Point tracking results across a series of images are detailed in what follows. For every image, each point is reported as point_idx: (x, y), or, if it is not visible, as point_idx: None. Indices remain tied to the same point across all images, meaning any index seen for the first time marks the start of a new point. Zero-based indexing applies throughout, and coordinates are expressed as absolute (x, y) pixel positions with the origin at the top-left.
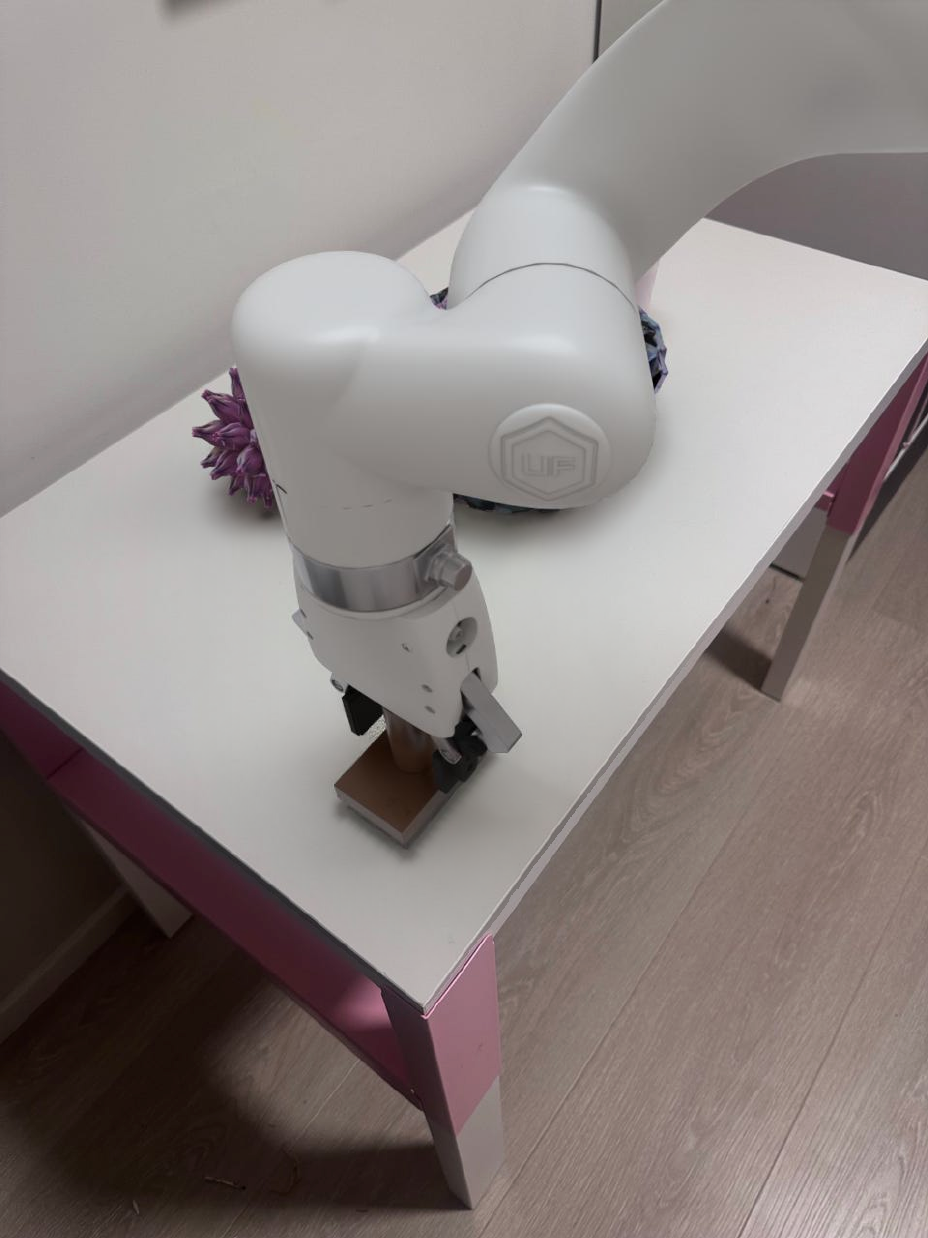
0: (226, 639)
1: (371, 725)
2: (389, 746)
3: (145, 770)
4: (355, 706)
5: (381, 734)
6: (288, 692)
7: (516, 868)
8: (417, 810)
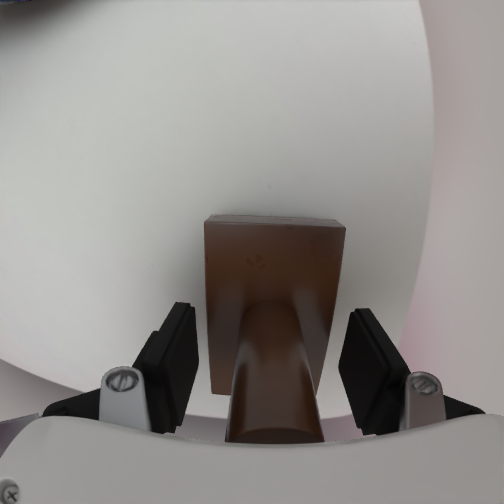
0: (8, 261)
1: (197, 347)
2: (231, 333)
3: (75, 386)
4: (182, 413)
5: (208, 324)
6: (75, 280)
7: (405, 314)
8: (317, 374)
